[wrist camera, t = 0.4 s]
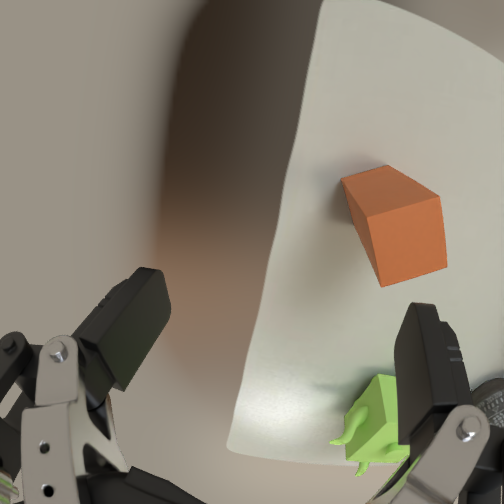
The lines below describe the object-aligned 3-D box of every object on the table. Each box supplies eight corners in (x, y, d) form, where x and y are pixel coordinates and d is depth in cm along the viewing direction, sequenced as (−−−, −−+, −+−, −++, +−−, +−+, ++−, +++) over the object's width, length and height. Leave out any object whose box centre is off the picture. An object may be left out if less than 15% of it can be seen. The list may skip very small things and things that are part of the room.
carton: (340, 178, 27) (366, 217, 17) (388, 164, 26) (439, 196, 15) (353, 225, 29) (381, 288, 18) (399, 212, 28) (447, 267, 17)
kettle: (353, 428, 43) (356, 483, 33) (321, 386, 39) (320, 452, 29) (435, 397, 38) (450, 452, 28) (419, 346, 34) (442, 410, 24)
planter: (462, 426, 41) (478, 485, 28) (441, 404, 39) (460, 475, 25) (518, 387, 36) (543, 443, 22) (508, 356, 33) (542, 422, 20)
